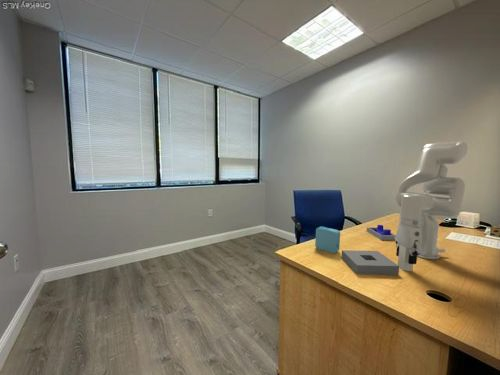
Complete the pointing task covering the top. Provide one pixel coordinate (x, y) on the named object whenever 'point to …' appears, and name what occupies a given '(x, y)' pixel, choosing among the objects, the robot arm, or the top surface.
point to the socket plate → (369, 262)
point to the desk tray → (379, 236)
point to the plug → (404, 259)
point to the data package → (327, 239)
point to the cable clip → (381, 231)
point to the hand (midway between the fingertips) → (405, 259)
